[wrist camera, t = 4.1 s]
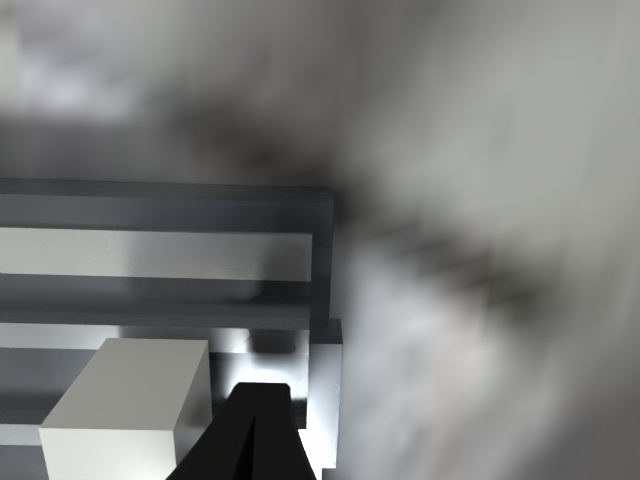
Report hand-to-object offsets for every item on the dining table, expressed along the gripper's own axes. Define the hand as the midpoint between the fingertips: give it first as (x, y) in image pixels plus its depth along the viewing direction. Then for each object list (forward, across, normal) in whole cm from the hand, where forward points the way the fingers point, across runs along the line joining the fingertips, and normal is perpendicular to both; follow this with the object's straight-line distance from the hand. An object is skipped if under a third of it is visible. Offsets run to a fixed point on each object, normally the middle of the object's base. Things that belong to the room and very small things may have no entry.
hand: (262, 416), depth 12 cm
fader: (+1, +3, 0) cm, 3 cm away
